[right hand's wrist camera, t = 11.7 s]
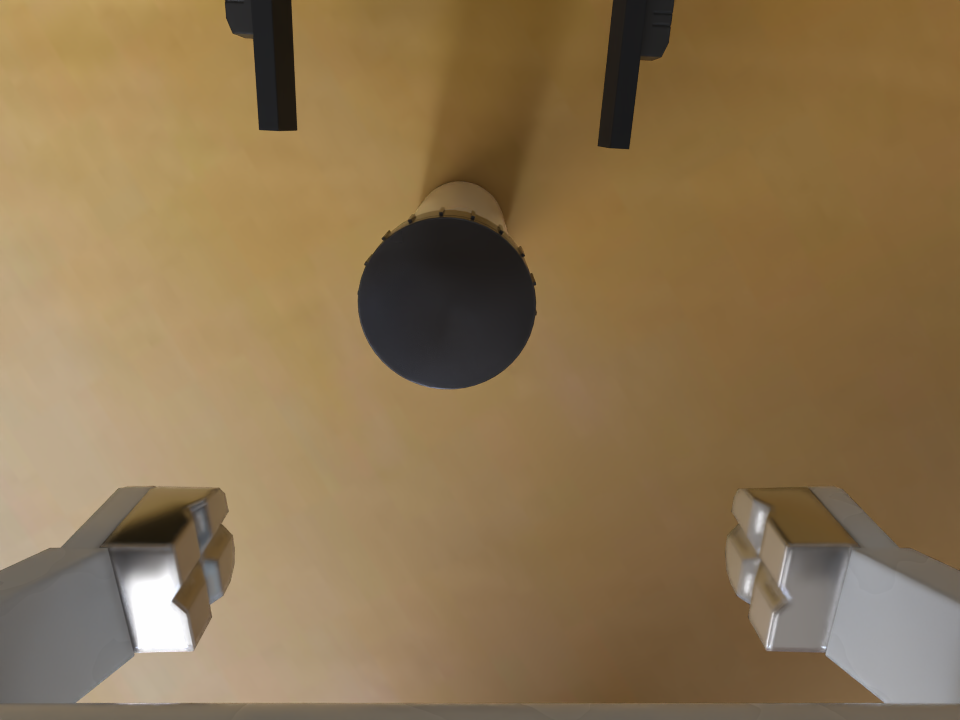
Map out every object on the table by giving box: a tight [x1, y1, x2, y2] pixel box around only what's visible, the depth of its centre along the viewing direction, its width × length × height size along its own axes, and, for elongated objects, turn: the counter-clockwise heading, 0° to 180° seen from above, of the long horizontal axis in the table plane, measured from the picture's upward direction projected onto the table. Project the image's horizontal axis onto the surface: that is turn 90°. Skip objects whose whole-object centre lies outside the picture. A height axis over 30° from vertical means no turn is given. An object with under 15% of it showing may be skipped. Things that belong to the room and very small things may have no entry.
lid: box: [358, 207, 537, 389], centre depth 19 cm, size 5×5×2 cm
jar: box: [414, 181, 508, 234], centre depth 26 cm, size 5×5×15 cm
